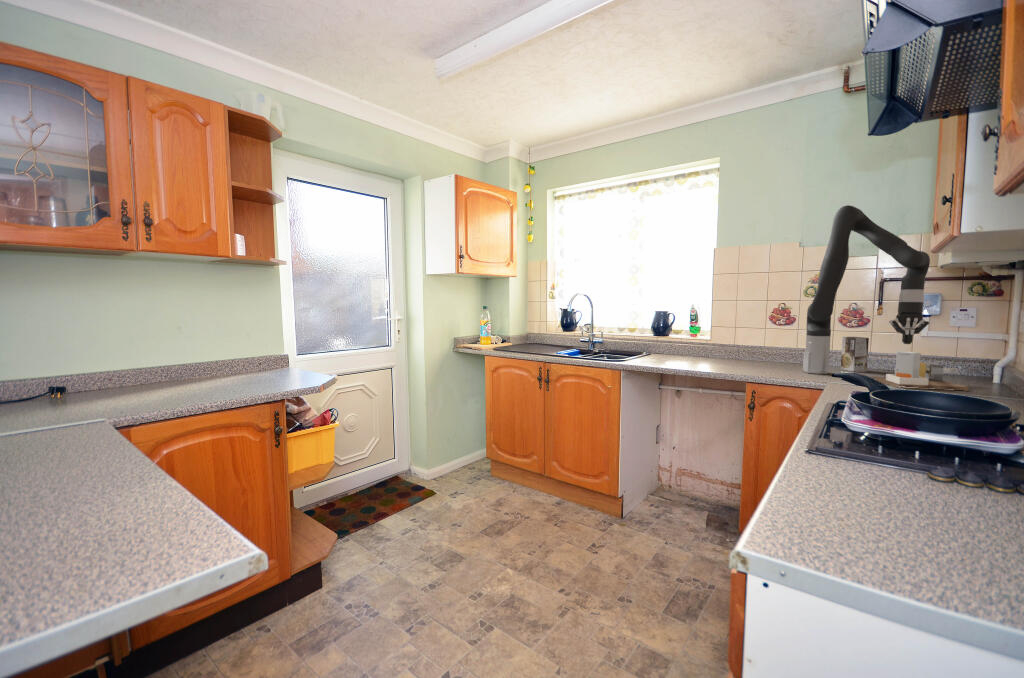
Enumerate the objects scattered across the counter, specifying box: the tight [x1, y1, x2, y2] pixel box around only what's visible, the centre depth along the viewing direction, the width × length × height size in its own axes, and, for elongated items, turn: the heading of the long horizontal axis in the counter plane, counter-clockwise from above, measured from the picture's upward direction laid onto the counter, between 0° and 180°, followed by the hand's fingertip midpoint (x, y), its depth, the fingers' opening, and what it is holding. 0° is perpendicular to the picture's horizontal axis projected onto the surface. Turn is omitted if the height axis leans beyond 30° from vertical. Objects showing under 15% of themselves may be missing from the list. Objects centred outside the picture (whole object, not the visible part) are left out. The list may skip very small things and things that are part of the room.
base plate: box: [873, 376, 970, 392], centre depth 177 cm, size 22×18×2 cm
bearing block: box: [925, 362, 945, 381], centre depth 180 cm, size 4×5×6 cm
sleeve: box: [885, 373, 929, 385], centre depth 174 cm, size 9×9×2 cm
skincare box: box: [894, 350, 922, 378], centre depth 173 cm, size 6×4×12 cm
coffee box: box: [840, 336, 870, 373], centre depth 214 cm, size 9×6×16 cm
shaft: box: [919, 361, 960, 378], centre depth 180 cm, size 14×5×6 cm, turn 76°
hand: (906, 343), depth 181 cm, fingers closed
